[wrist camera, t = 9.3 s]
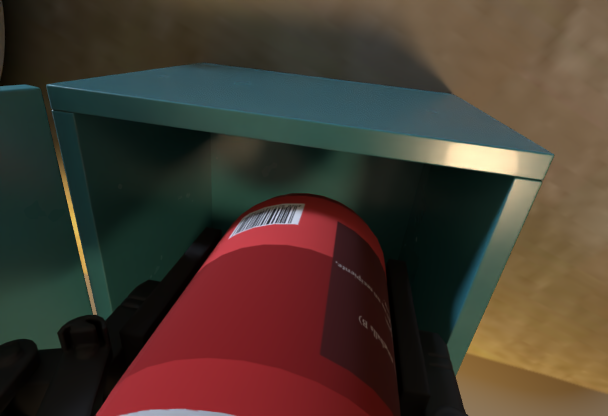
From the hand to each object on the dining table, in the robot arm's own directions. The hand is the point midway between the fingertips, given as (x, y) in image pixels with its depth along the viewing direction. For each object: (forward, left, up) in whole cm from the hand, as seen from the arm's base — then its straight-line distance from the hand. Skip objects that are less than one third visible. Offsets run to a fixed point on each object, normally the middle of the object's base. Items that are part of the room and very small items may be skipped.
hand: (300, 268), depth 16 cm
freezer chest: (+1, -1, -12) cm, 12 cm away
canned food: (0, 0, -1) cm, 1 cm away
